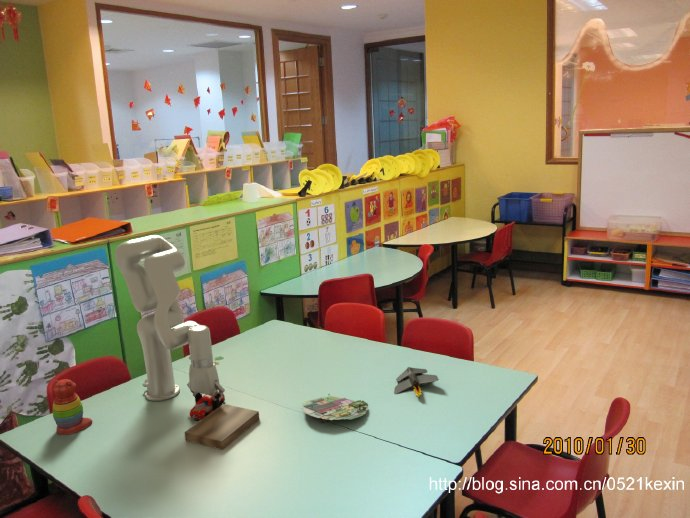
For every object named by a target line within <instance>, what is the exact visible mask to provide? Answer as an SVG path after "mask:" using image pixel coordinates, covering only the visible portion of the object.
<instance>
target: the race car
mask: <svg viewBox="0 0 690 518" xmlns="http://www.w3.org/2000/svg"><path fill="white" fill-rule="evenodd" d="M214 395H215V396H216V394H215V393H214ZM212 400H213V399H212V397H211V395H207V394H203V395H202V398H201V399H200V400H199V401H198V402H195V405H194V406H193V407H191V409H190V410H189V418H190V419H191V420H195V421H196V420H199V421H200V420H202V419H203V418H205V417H206V416H207V415H209V414H210V413H211V412H213V406H212ZM225 401H226V396H225V393H223V394H222V395H221V397H220V398H219V402H220V406H221V405H223V404H224V403H225Z"/></svg>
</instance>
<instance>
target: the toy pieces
mask: <svg viewBox="0 0 690 518" xmlns="http://www.w3.org/2000/svg"><path fill="white" fill-rule="evenodd" d="M221 360H224V357H223V356H216V357H214V361H213V362H214V364H215V366H216V367H217V366H219V365H220V362H218V361H221Z"/></svg>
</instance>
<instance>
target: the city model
mask: <svg viewBox="0 0 690 518" xmlns="http://www.w3.org/2000/svg"><path fill="white" fill-rule="evenodd" d="M327 395H328V396H321V397H318V398H313V399H309V400H306V401H304V403H302V406H301V409H302V411H303V413H305V414H306V415H308V416H311V417H314V418H317V419H318V421H319V422H321V421H322V423H323V424H325V423H326V422H328V420H330V421H333V420H336V421H337V420H354V419H357V418H360V417H362V416H364V415H365V414H367V413H368V411H369V407H368V406H369V404H368V402H366V401H365V400H361V399H360V400H353V399H348V398H345V397H338V396H333V395H330V393H328V394H327Z"/></svg>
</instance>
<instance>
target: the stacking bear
mask: <svg viewBox="0 0 690 518" xmlns="http://www.w3.org/2000/svg"><path fill="white" fill-rule="evenodd" d="M53 384H54V385H53V393H54V395H55V398H54V400H53V404H52V417H53V420H54V421H55V424H56V433H57V434H59V435H63V436H64V435H70V434H71V435H72V434H74V433H78V432H80V431H82V430H85V429H86V428H87V427H90V425H92V424H93V420H92V418H89V417H83V415H84V406H83V402H82V401H81V398H80V396H79V395H78V393H76V389H77V384H76V383H75V382H74V381H72V380H71V379H67V378H65V379H64V378H63V379H60V380H58V379H56V380H54V381H53Z"/></svg>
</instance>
